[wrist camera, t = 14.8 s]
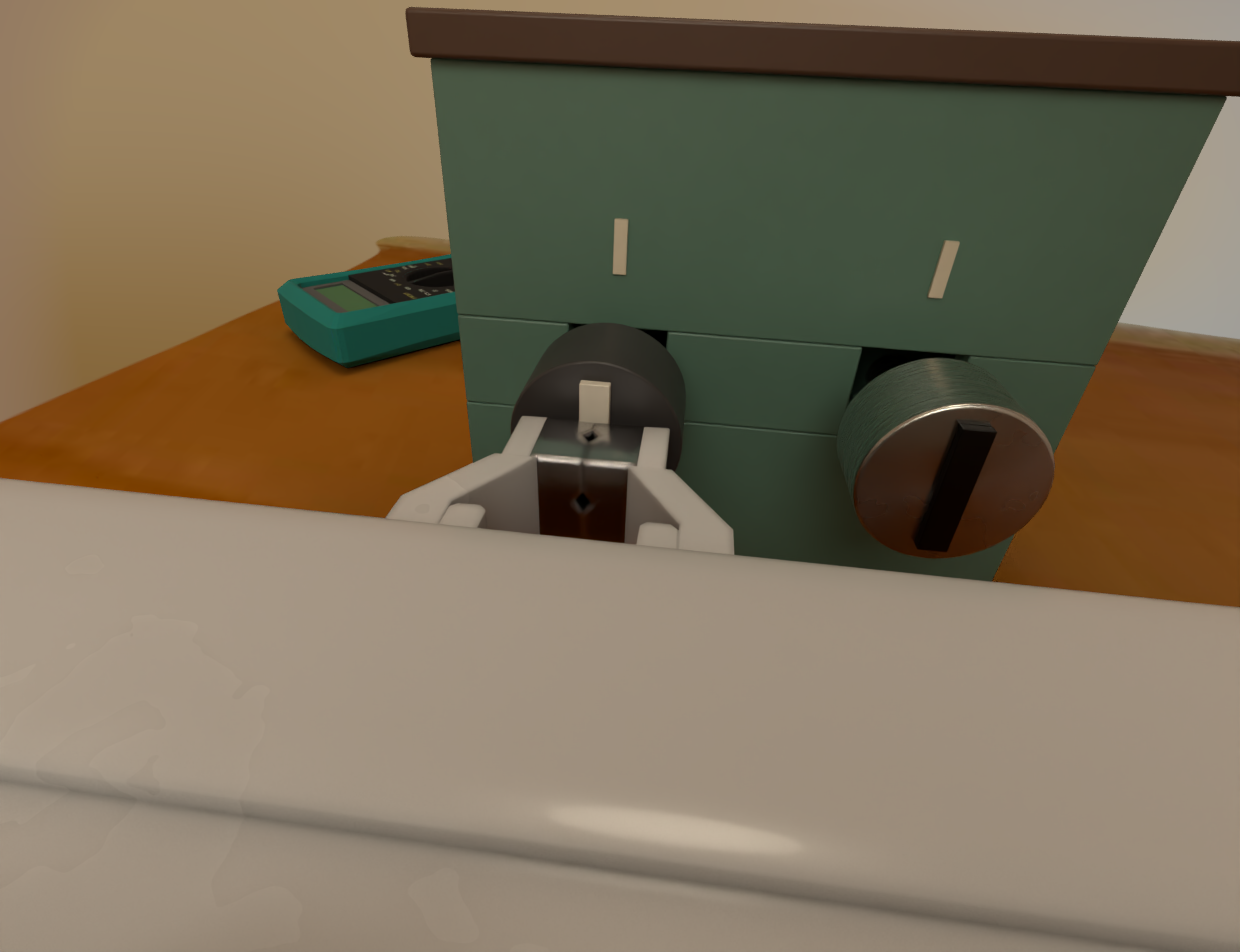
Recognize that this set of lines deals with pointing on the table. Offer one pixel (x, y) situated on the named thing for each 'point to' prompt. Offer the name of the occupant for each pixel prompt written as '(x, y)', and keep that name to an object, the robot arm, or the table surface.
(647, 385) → the black knob
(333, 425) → the table surface
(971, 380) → the steel knob
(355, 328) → the digital multimeter
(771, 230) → the console
